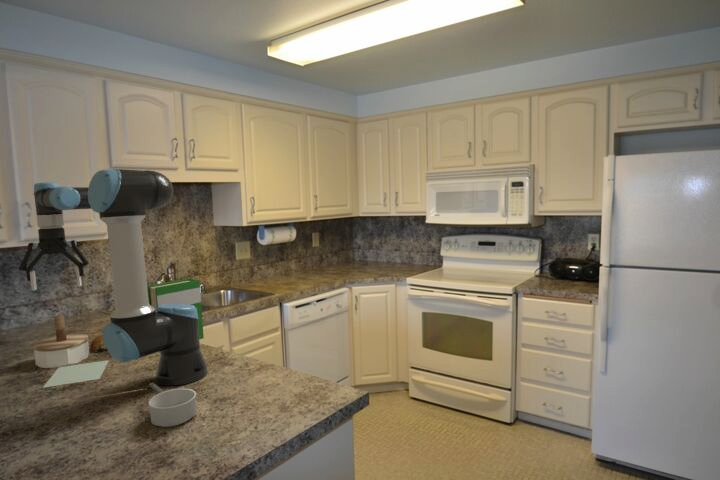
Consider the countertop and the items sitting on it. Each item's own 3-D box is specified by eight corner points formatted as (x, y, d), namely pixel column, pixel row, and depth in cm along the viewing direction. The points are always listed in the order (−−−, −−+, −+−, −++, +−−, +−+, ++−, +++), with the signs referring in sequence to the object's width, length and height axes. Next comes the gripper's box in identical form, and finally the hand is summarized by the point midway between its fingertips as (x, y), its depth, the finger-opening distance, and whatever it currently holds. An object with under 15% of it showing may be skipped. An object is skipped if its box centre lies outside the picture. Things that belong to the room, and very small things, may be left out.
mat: (99, 380, 140) (99, 378, 140) (42, 389, 134) (42, 387, 134) (109, 361, 157) (108, 360, 156) (59, 368, 151) (59, 367, 151)
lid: (82, 347, 153) (80, 318, 152) (27, 354, 148) (24, 325, 147) (92, 334, 168) (89, 308, 167) (42, 340, 163) (39, 313, 162)
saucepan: (173, 395, 127) (171, 376, 127) (205, 417, 113) (204, 396, 113) (130, 409, 119) (128, 389, 119) (160, 435, 105) (158, 413, 105)
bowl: (83, 365, 154) (81, 346, 154) (31, 372, 149) (29, 353, 148) (92, 351, 168) (90, 335, 168) (45, 358, 163) (43, 340, 162)
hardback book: (161, 350, 167) (156, 287, 164) (151, 347, 171) (146, 285, 169) (203, 338, 180) (199, 279, 178) (193, 335, 185) (189, 278, 183)
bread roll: (123, 355, 174) (127, 334, 176) (107, 352, 164) (111, 331, 167) (100, 355, 175) (104, 334, 177) (82, 352, 165) (86, 331, 168)
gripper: (94, 225, 162) (99, 282, 164) (11, 229, 153) (18, 289, 155) (90, 225, 155) (95, 285, 157) (3, 230, 146) (10, 293, 148)
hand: (57, 287), depth 156 cm, fingers open, 13 cm apart
